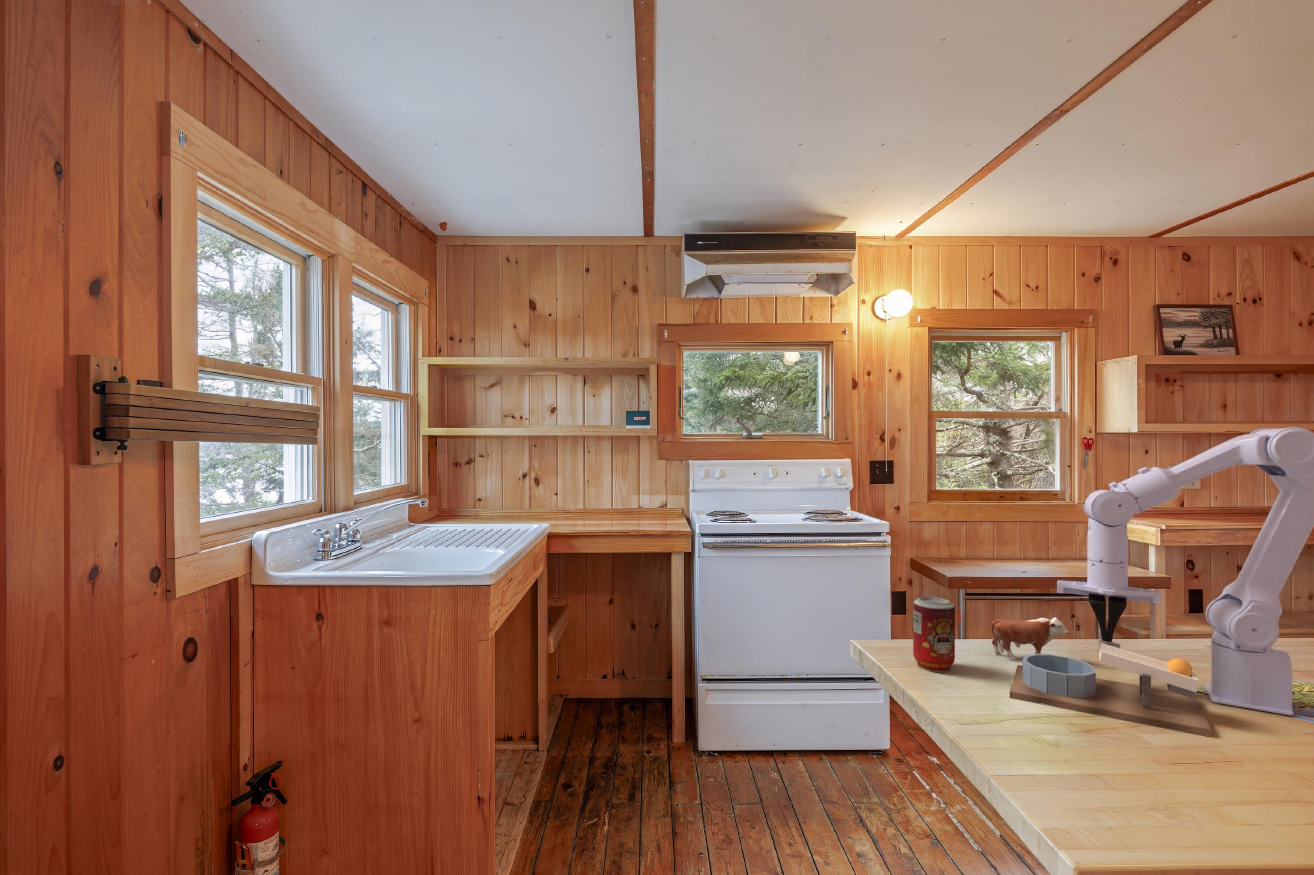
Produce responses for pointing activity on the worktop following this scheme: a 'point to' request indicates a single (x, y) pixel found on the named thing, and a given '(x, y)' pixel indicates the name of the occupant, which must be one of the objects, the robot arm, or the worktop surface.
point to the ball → (1180, 667)
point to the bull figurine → (1025, 633)
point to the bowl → (1059, 675)
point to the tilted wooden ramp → (1147, 668)
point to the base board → (1126, 703)
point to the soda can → (934, 633)
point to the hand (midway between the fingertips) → (1107, 640)
